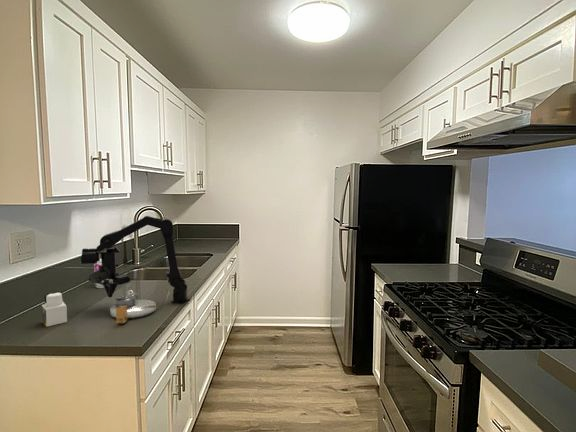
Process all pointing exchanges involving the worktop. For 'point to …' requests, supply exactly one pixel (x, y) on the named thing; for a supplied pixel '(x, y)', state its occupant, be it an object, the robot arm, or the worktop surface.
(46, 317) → the medicine bottle
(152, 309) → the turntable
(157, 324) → the worktop surface
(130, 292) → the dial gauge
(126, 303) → the cover
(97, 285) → the supplement can
